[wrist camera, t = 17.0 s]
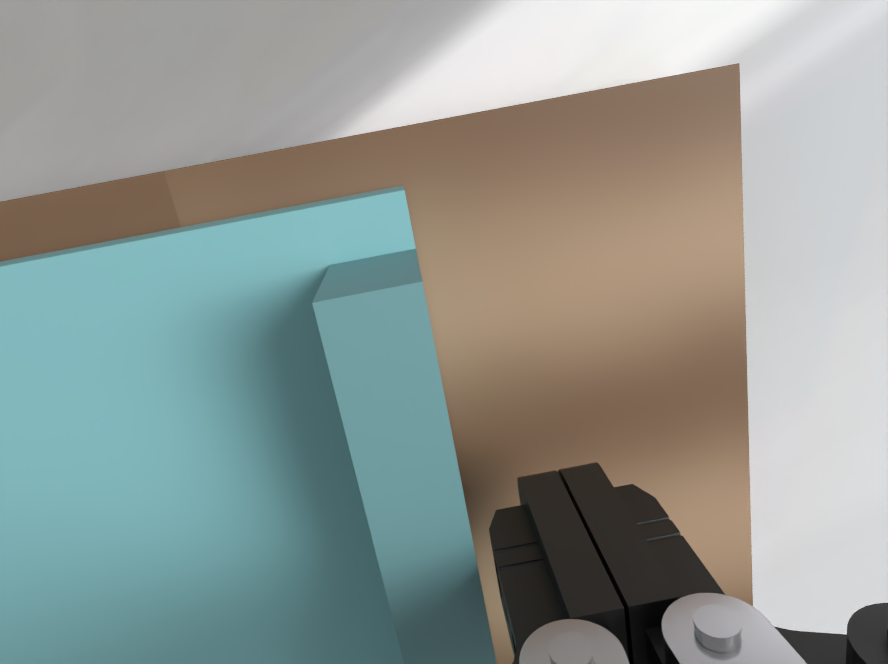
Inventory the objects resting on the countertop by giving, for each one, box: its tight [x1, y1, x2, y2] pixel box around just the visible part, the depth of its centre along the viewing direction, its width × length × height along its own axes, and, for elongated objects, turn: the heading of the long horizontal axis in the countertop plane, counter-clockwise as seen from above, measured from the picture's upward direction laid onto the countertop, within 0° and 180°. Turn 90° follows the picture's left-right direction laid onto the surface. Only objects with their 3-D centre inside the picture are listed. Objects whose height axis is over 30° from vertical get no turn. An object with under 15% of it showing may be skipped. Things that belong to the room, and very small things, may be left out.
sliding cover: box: [0, 185, 497, 664], centre depth 11 cm, size 12×10×4 cm
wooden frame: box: [0, 63, 753, 664], centre depth 15 cm, size 14×22×3 cm, turn 100°
